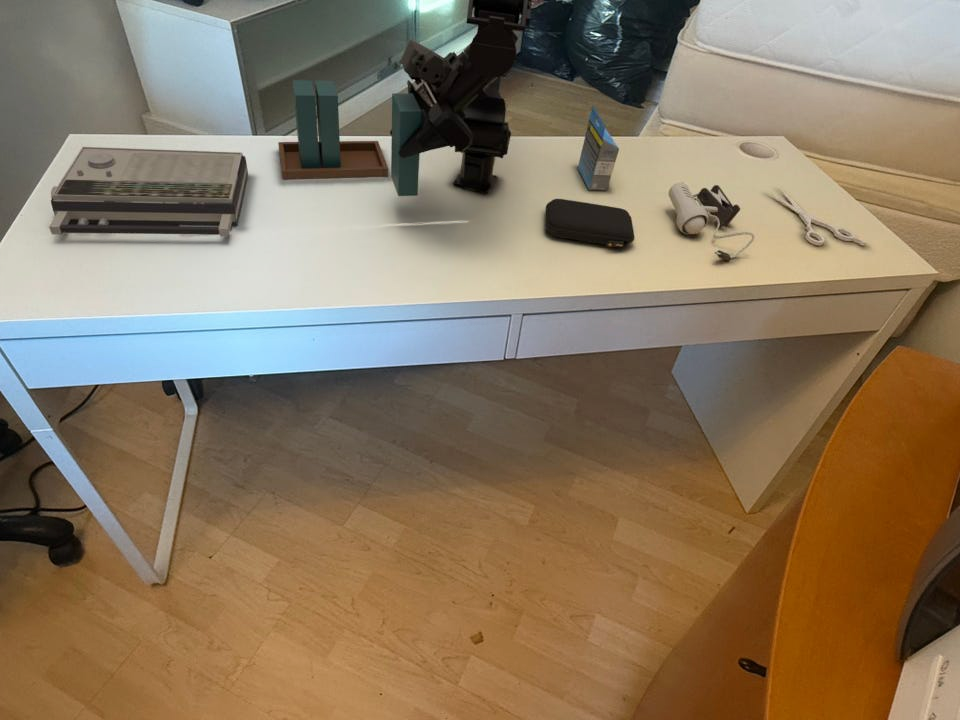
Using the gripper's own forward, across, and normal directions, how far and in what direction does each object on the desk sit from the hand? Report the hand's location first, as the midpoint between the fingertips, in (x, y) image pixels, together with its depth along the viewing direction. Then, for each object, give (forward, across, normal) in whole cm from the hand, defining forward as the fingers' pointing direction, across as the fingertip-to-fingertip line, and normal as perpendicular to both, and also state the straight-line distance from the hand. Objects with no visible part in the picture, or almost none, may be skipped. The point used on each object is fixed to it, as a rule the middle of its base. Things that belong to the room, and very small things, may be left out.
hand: (395, 145), depth 90 cm
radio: (+34, -7, -16) cm, 38 cm away
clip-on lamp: (-28, +10, +46) cm, 55 cm away
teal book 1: (+17, -18, 0) cm, 24 cm away
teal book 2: (+14, -18, +3) cm, 23 cm away
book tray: (+14, -18, +4) cm, 23 cm away
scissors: (-45, +7, +63) cm, 78 cm away
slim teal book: (+4, 0, +6) cm, 7 cm away
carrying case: (-13, +7, +31) cm, 34 cm away
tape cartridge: (-19, -10, +37) cm, 43 cm away
